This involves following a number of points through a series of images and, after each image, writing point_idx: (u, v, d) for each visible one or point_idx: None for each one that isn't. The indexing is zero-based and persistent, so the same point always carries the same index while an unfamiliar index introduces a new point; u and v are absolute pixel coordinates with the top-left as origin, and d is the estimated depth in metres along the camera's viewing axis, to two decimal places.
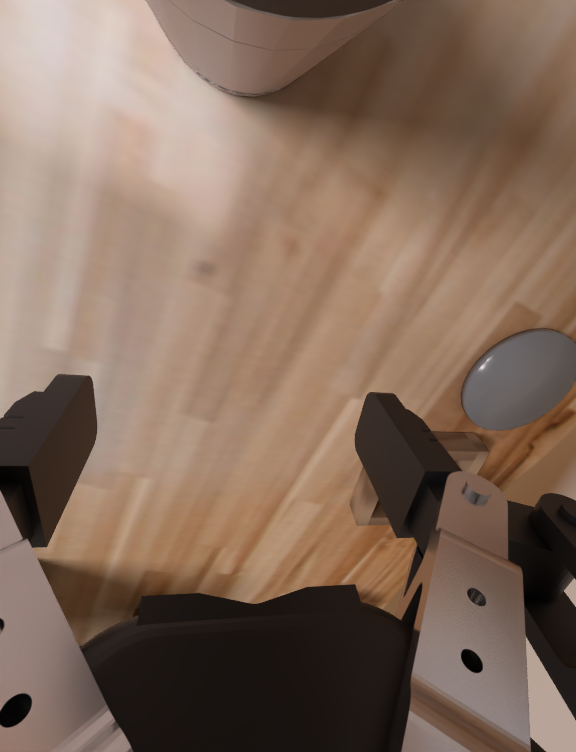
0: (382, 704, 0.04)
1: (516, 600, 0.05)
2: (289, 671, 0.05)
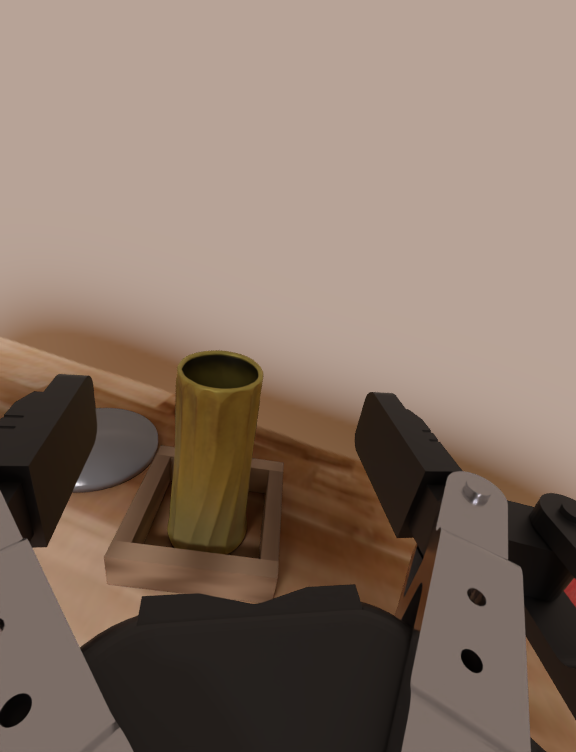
0: (382, 704, 0.04)
1: (516, 600, 0.05)
2: (289, 671, 0.05)
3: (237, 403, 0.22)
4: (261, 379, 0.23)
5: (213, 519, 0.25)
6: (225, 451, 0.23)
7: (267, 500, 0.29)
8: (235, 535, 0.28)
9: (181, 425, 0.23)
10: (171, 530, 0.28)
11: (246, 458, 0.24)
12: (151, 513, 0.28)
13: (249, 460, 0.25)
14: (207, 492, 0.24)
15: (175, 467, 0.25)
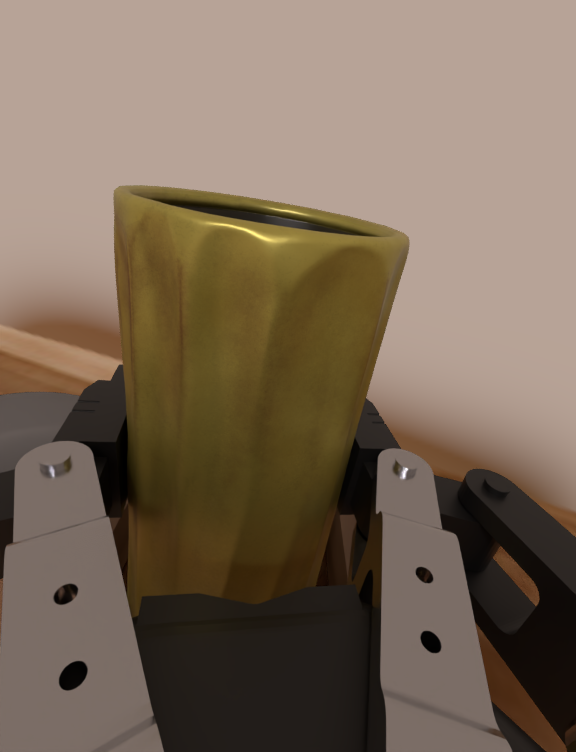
0: None
1: (457, 568, 0.05)
2: (289, 671, 0.05)
3: (341, 305, 0.06)
4: (407, 238, 0.07)
5: None
6: (281, 483, 0.07)
7: None
8: None
9: (134, 398, 0.07)
10: None
11: (332, 500, 0.08)
12: None
13: (336, 502, 0.09)
14: None
15: (131, 523, 0.09)
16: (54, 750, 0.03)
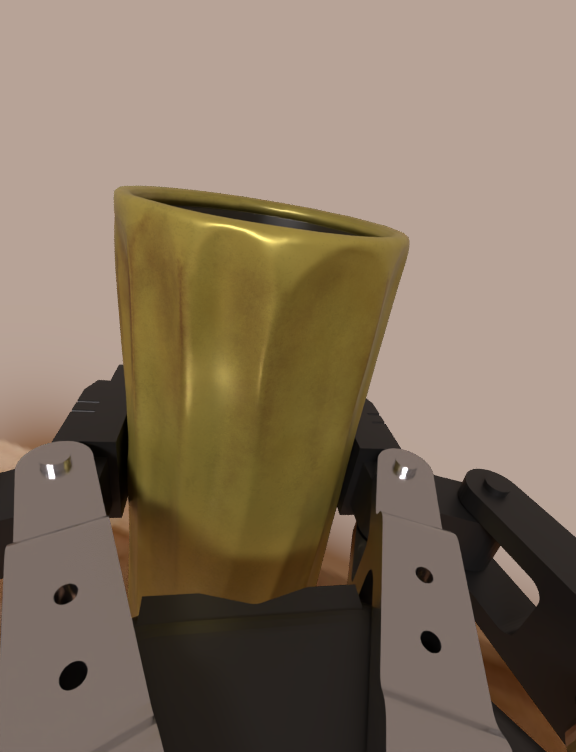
0: None
1: (457, 568, 0.05)
2: (289, 671, 0.05)
3: (340, 305, 0.06)
4: (407, 238, 0.07)
5: None
6: (281, 483, 0.07)
7: None
8: None
9: (135, 398, 0.07)
10: None
11: (332, 500, 0.08)
12: None
13: (336, 502, 0.09)
14: None
15: (131, 523, 0.09)
16: (55, 749, 0.03)
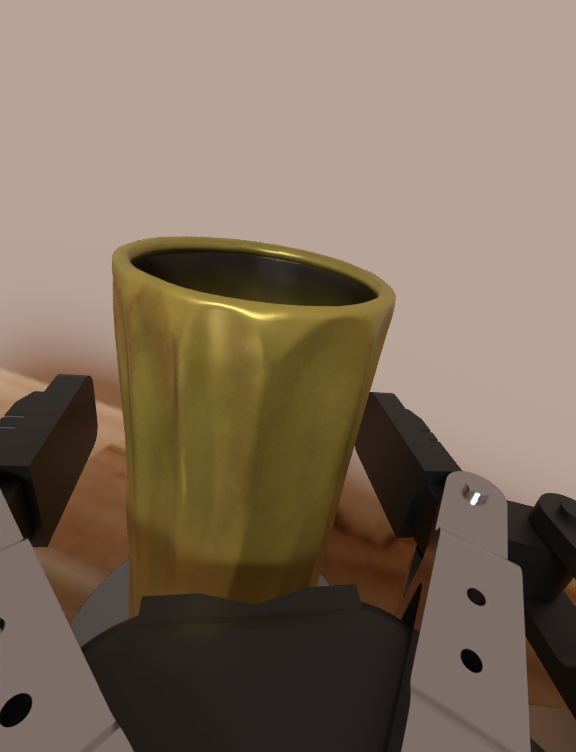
0: (382, 704, 0.04)
1: (515, 600, 0.05)
2: (289, 671, 0.05)
3: (327, 367, 0.06)
4: (393, 294, 0.07)
5: None
6: (273, 527, 0.07)
7: None
8: None
9: (133, 447, 0.07)
10: None
11: (325, 535, 0.09)
12: None
13: (329, 534, 0.09)
14: None
15: (131, 555, 0.09)
16: None
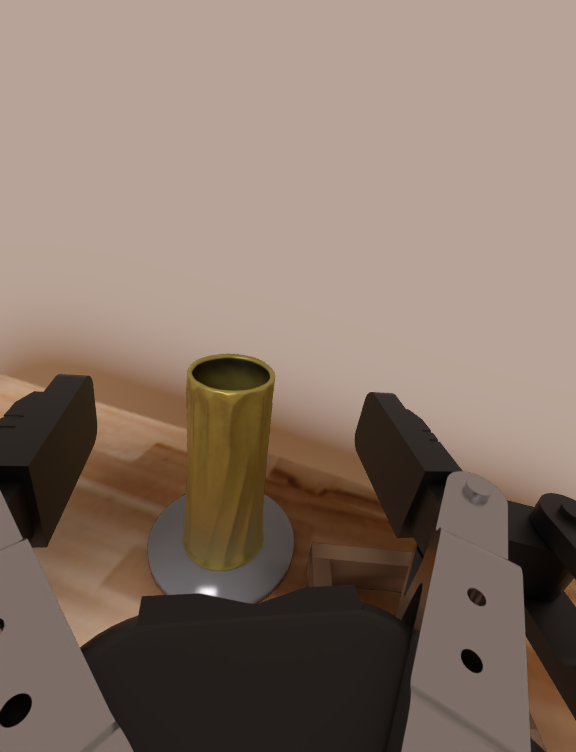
0: (382, 704, 0.04)
1: (516, 600, 0.05)
2: (289, 671, 0.05)
3: (249, 405, 0.21)
4: (273, 380, 0.22)
5: (230, 527, 0.24)
6: (238, 456, 0.22)
7: None
8: (252, 544, 0.27)
9: (193, 431, 0.22)
10: (186, 541, 0.27)
11: (260, 463, 0.24)
12: None
13: (264, 465, 0.24)
14: (222, 500, 0.23)
15: (188, 475, 0.24)
16: None
